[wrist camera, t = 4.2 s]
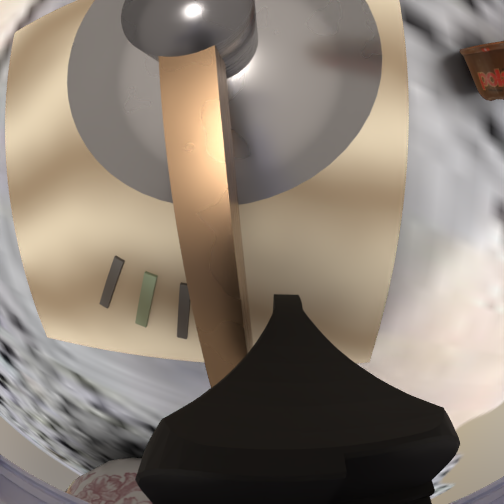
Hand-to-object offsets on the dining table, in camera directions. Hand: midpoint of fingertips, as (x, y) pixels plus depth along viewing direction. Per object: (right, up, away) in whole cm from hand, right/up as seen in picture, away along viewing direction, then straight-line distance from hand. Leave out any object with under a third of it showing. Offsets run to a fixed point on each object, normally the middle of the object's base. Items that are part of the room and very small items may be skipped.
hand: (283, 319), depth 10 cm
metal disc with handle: (-2, +6, +1) cm, 6 cm away
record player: (-4, +6, +3) cm, 8 cm away
